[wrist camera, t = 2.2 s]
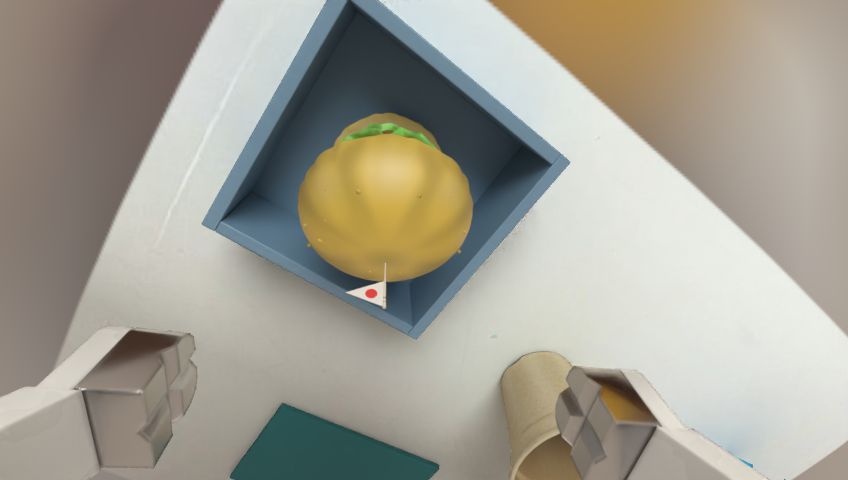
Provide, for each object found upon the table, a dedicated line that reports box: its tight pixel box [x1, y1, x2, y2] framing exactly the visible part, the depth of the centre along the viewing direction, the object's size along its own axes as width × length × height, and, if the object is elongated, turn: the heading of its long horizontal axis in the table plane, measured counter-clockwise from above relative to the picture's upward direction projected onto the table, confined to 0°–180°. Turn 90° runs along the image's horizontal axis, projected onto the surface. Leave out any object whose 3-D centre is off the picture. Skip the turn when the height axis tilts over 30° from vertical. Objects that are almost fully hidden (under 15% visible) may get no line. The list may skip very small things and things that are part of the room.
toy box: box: [202, 0, 570, 339], centre depth 22 cm, size 13×13×6 cm
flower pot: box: [501, 352, 581, 480], centre depth 30 cm, size 9×9×9 cm
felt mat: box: [230, 403, 439, 480], centre depth 36 cm, size 16×10×1 cm, turn 55°
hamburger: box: [298, 113, 473, 309], centre depth 19 cm, size 8×7×12 cm
